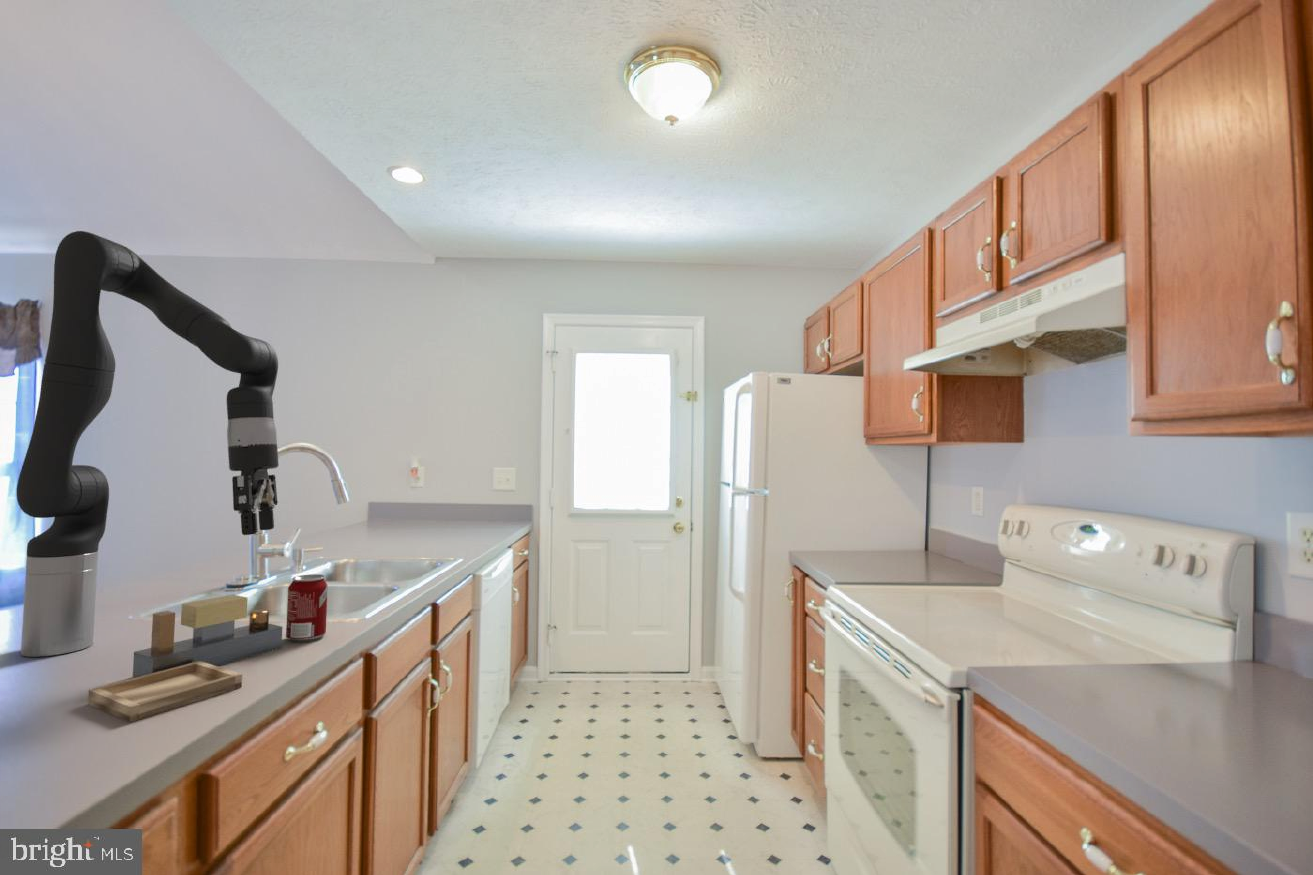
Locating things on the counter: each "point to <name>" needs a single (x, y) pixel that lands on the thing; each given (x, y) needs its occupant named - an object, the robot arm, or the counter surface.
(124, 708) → the parts tray
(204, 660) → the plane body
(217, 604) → the pale wooden block
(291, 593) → the soda can
